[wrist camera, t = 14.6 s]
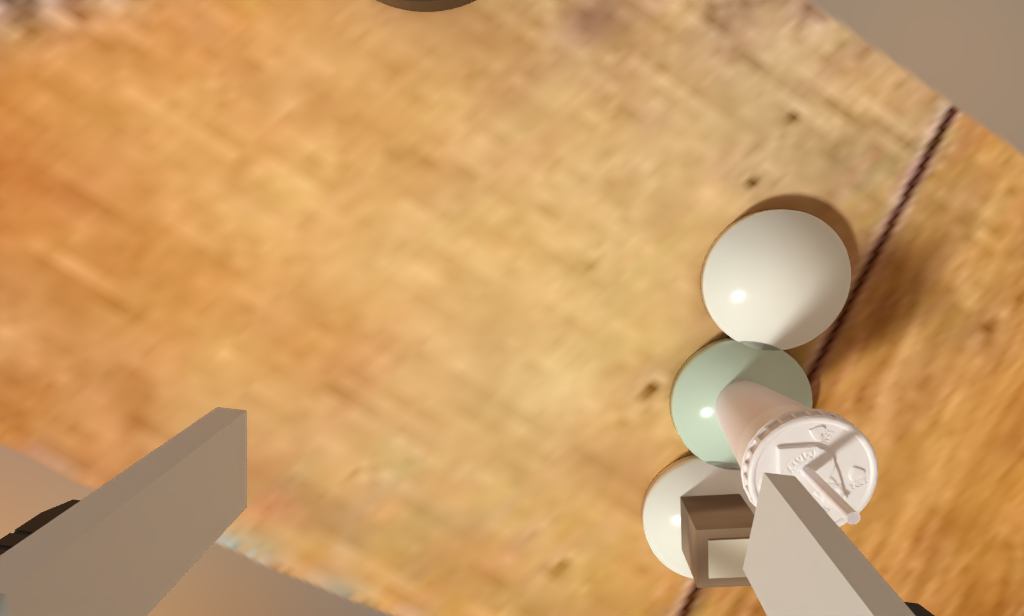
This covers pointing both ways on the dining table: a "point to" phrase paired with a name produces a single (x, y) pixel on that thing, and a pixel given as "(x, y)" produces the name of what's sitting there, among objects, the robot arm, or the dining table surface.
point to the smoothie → (798, 448)
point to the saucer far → (665, 503)
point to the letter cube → (716, 538)
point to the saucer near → (775, 278)
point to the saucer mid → (712, 375)
